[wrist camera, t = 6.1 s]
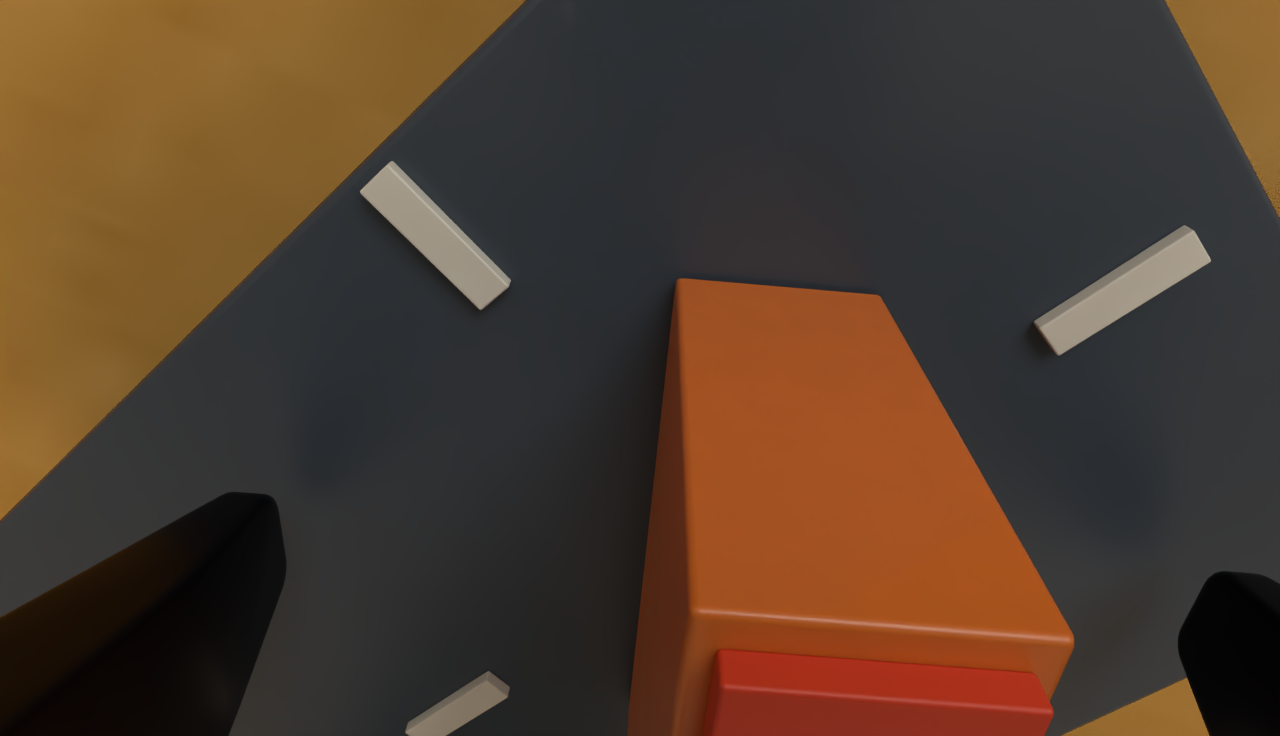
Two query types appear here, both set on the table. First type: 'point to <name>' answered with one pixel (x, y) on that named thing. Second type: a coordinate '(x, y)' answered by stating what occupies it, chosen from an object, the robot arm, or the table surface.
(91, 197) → the table surface
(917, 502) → the orange block
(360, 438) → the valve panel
